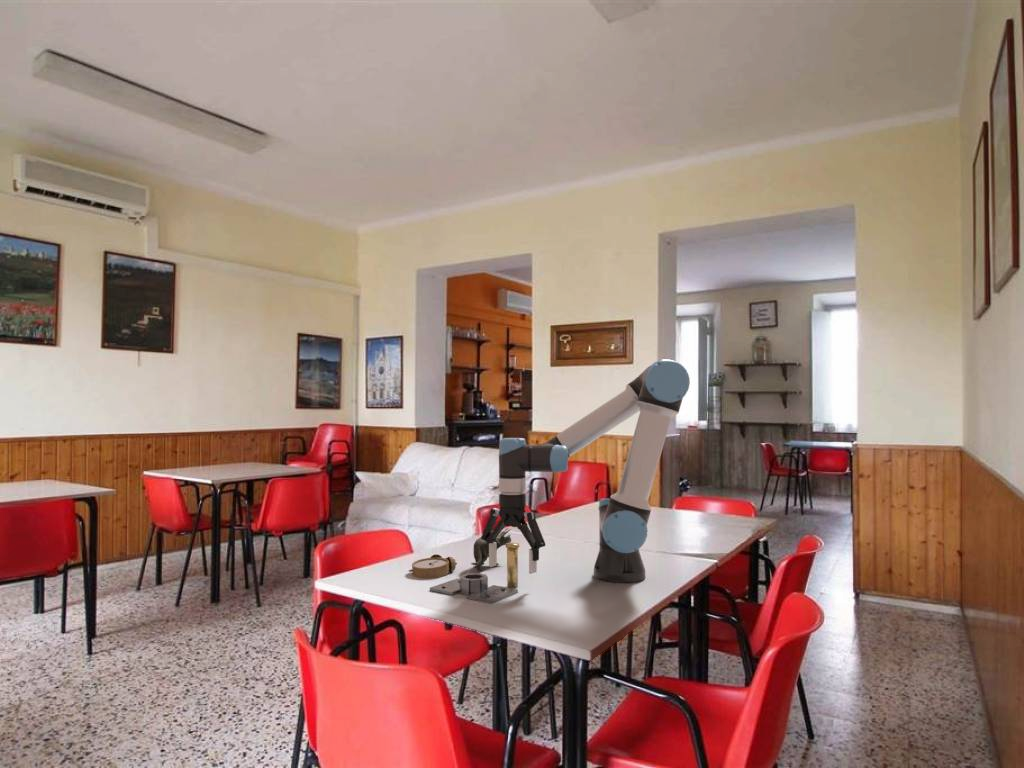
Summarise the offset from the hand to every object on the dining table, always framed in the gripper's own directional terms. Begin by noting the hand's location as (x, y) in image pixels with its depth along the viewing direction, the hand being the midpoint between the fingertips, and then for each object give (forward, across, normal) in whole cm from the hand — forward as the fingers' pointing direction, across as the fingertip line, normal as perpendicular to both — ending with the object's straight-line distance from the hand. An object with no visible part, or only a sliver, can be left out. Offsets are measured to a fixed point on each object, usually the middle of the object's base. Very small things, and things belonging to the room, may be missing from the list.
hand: (512, 569), depth 177 cm
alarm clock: (+5, +29, 0) cm, 29 cm away
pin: (+5, 0, 0) cm, 5 cm away
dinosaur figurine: (+5, +20, -13) cm, 24 cm away
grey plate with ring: (+5, +6, +10) cm, 13 cm away
